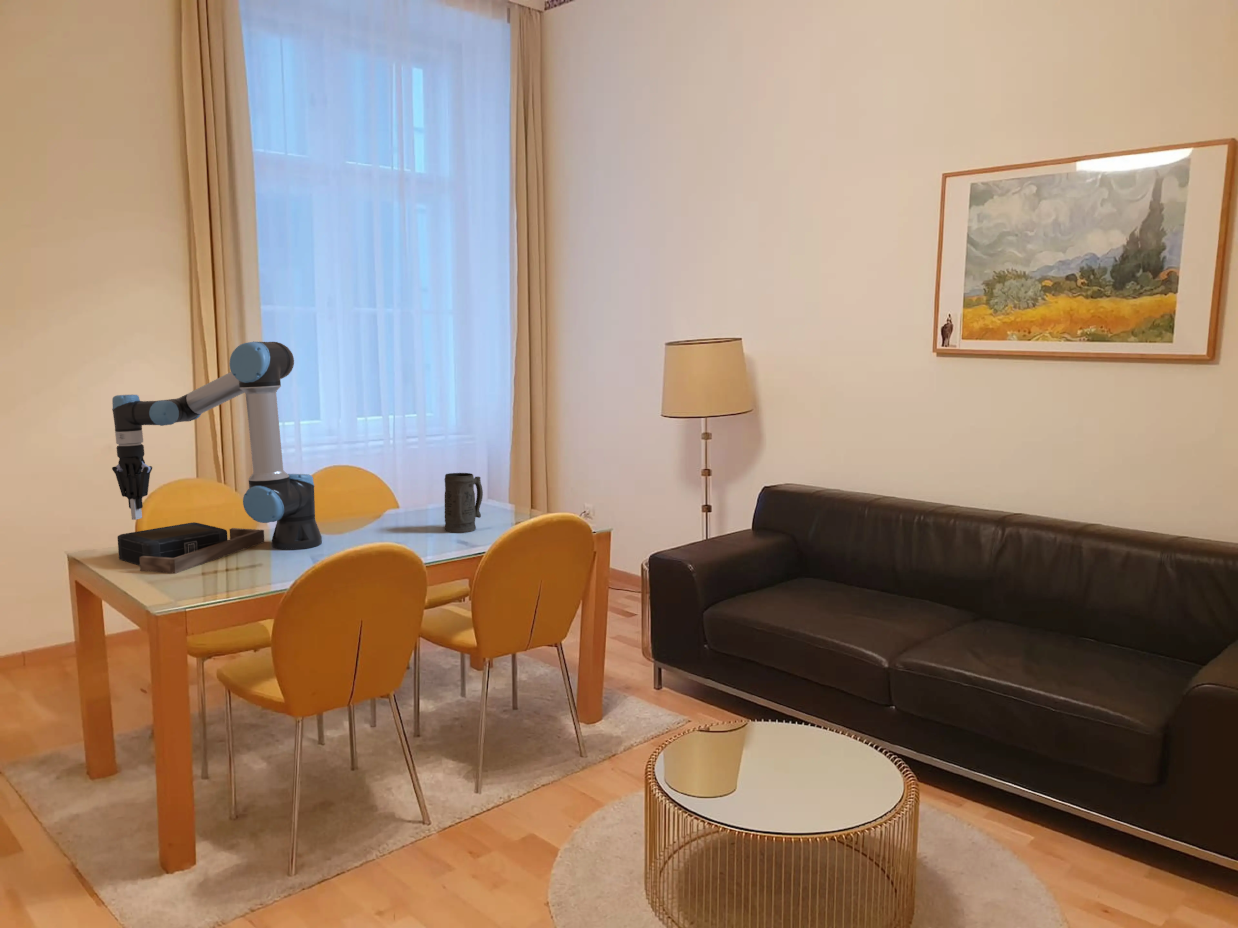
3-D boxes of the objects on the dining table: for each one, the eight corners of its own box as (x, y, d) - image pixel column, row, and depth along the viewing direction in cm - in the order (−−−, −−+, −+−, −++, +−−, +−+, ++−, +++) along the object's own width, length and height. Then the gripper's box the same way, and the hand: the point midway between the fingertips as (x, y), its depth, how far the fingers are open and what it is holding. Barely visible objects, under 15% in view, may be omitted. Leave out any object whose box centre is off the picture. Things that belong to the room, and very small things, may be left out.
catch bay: (264, 541, 297) (263, 529, 297) (175, 573, 258) (174, 559, 257) (233, 539, 300) (232, 527, 299) (140, 570, 260) (139, 557, 260)
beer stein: (460, 534, 310) (461, 475, 308) (436, 530, 315) (438, 473, 314) (489, 529, 323) (491, 473, 321) (466, 526, 328) (467, 470, 327)
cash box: (150, 570, 262) (148, 543, 261) (116, 559, 274) (114, 534, 273) (231, 553, 282) (230, 529, 281) (196, 544, 294) (195, 521, 293)
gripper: (102, 445, 282) (110, 520, 286) (139, 445, 280) (146, 521, 283) (121, 443, 290) (128, 516, 293) (156, 443, 287) (163, 516, 290)
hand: (137, 518), depth 288 cm, fingers closed
